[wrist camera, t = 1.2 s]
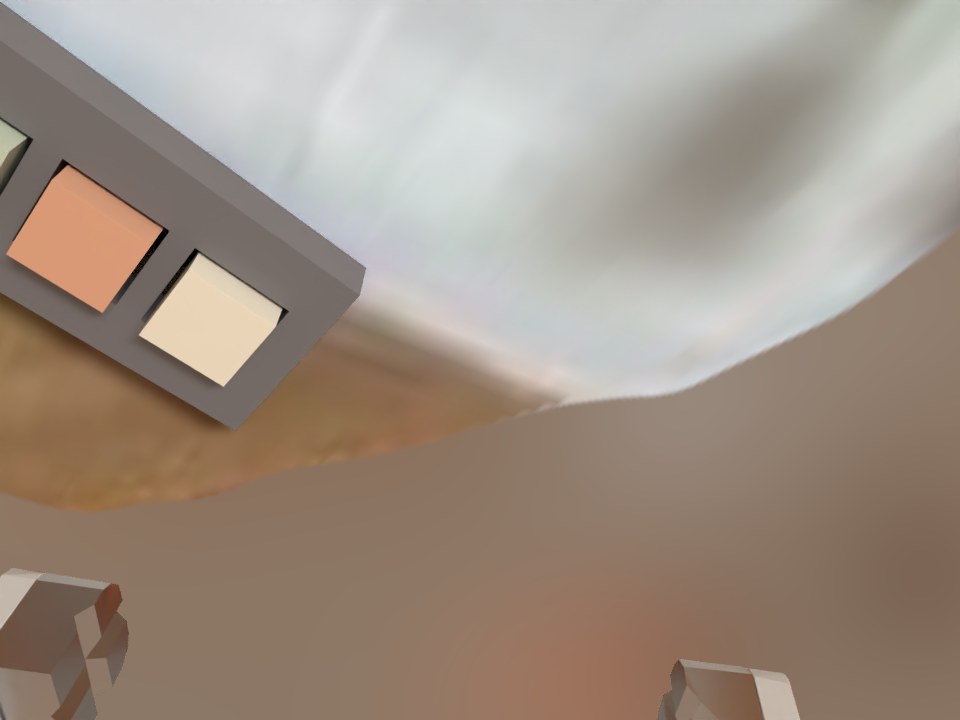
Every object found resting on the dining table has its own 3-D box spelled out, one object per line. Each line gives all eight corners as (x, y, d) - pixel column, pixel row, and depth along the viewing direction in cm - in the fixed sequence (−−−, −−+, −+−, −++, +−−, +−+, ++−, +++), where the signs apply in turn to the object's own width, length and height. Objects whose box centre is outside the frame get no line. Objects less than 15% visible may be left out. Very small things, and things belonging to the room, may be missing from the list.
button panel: (-166, 147, 41) (-217, 175, 38) (-76, -54, 36) (-126, -40, 33) (247, 399, 50) (233, 437, 47) (365, 267, 45) (358, 301, 42)
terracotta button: (33, 227, 42) (5, 254, 39) (78, 155, 40) (51, 179, 37) (123, 283, 44) (102, 313, 41) (170, 218, 41) (151, 245, 39)
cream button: (157, 305, 44) (138, 335, 42) (205, 242, 42) (188, 269, 40) (236, 355, 46) (223, 386, 44) (286, 297, 44) (275, 327, 42)
